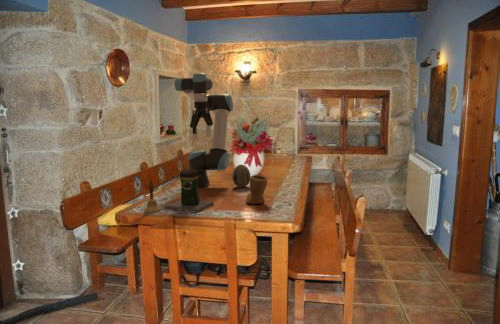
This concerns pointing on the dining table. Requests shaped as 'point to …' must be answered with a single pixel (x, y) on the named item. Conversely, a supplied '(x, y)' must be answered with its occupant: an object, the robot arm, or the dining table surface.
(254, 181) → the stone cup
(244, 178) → the decorative egg
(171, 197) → the dining table surface
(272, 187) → the dining table surface
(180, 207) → the plate
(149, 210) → the hand bell
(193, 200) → the coffee jar
